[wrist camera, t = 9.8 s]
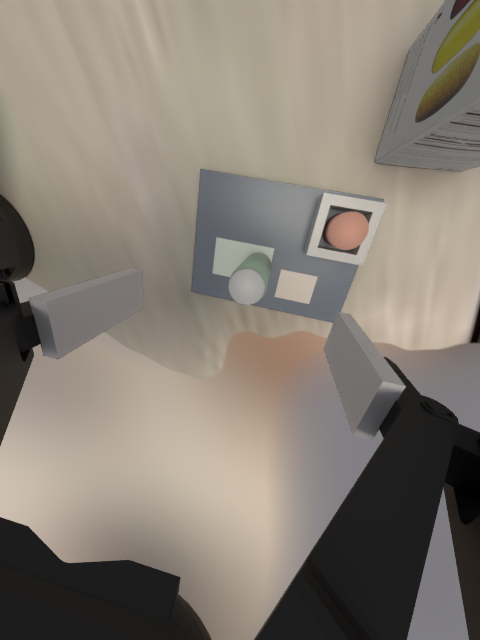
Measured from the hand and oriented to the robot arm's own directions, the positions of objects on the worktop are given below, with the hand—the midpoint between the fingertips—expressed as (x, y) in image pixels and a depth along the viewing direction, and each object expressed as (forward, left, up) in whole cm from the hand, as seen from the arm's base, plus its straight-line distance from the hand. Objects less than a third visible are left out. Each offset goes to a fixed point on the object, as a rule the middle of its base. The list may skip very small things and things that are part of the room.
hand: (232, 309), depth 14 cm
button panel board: (+2, +2, -18) cm, 19 cm away
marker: (0, 0, -18) cm, 18 cm away
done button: (+9, +6, -16) cm, 19 cm away
